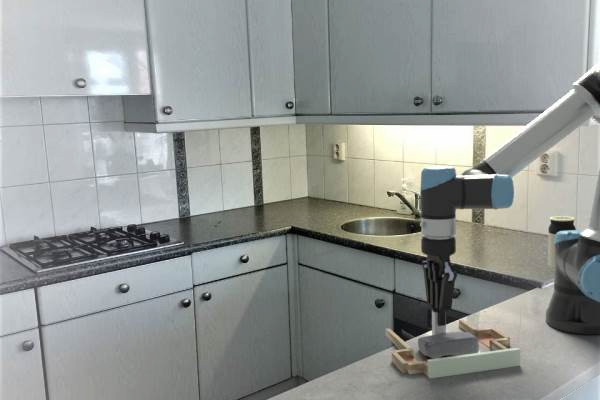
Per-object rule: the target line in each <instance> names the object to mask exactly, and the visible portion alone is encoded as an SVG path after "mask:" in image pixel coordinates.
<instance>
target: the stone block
mask: <svg viewBox="0 0 600 400" xmlns="http://www.w3.org/2000/svg"><path fill="white" fill-rule="evenodd" d="M417 347H418V349H419V352H420V353H421V354H422V355H423V356H425V357H429V358H430V359H437V358H443V357H445V356H446V357H452V356H459V355H466V354H474V353H479V351H480V344H479V341H478V339H477V337H476V336H474V335H472V334H471V333H468V332H466V331H449V332H446V333H441V334H436V335H432V334H431V335H427V336H421V337H419V338H418V339H417Z"/></svg>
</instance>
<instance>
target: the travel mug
mask: <svg viewBox="0 0 600 400" xmlns="http://www.w3.org/2000/svg"><path fill="white" fill-rule="evenodd" d="M549 220H550V224H549V227H548V244H547V245H548V247H547V248H548V249H547V252H548V253H547V266H548V265H549V266H551V267H554V251H555V246H554V243H555V235H556V233H557V232H559V231H567V230H577V228H576V227H575V226H576V225H575V224H574V223H575V220H576V218H575V217H573V216H568V215H554V216H550V217H549Z"/></svg>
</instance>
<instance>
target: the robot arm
mask: <svg viewBox="0 0 600 400" xmlns="http://www.w3.org/2000/svg"><path fill="white" fill-rule="evenodd" d="M593 117H600V61H598V63H596V64H595V65H594V66H592V68H590V69H589V70H588V71H587V72H586V73H585V74H584V75H582V76H581V77H580V78H579V79H577V80H576V81H575V82H574V83H572V84H571V89H570V91H569V92H568V93H567V94H566V95H564V96H563V97H561V99H559V100H558V101H557V102H555V103H554V104H552V105H551V106H550V107H549V108H547V109H546V110H545V111H544V112H543V113H541V114H540V115H539V116H537V117H536V118H534V119H533V120H532V121H531V122H530V123H528V124H527V125H526V126H525V127H523V128H522V129H521V130H520V131H518V132H517V133H515V134H514V135H513V136H512V137H510V138H509V139H508V140H506V141H505V142H504V143H502V144H501V145H500V146H498V148H496V149H495V150H494V151H492V152H490V154H488V155H487V156H486V157H485V158H483V159H482V160H480V162H478V163H477V164H476V165H475V166H473V167H472V168H468V169H466V170H464V171H463V172H462V173H461V174H460V175H459V174H457V171H456V169H455V167H454V166H448V165H447V166H446V165H444V166H443V165H442V166H441V165H437V166H427V167H424V168H422V170H421V173H420V219H421V221H420V222H419V227H421V229H420V230H421V235H422V237H421V238H420V241H421V242H420V243H421V245H420V247H421V249H420V250H421V253H422V254H423V255H425V256H426V260H422V261H421V266H422V270H423V279H424V285H425V286H424V287H425V288H424V289H425V296H426V297H425V298H426V302H427V304H429V307H430V309H431V335H436V334H441V333H447V313H446V312H450V311H452V308H453V307H452V306H453V298H454V291H455V282H456V280H457V277H458V273H457V271H452V269H451V266H452V263H451V258H450V257H451V256H452V255H455V253H456V252H457V250H456V249H457V247H456V245H457V242H456V241H457V238H456V237H455V236H456V234H457V228H456V227H457V220H456V219H457V217H456V212H457V211H456V210H494V211H495V210H499V209H500V210H501V209H502V210H503V209H509V208H511V207H512V205H513V204H514V197H515V188H514V181H513V178H514V177H515V176H516V175H517V174H519V173H520V172H522V170H524V169H525V168H526V167H528V166H530V164H532V163H533V162H535V161H536V160H537V159H538V158H540V157H541V156H543V155H544V154H545V153H547V151H549V150H550V149H552V148H553V147H554V146H555V145H556V144H558V143H560V142H561V141H563V140H564V139H565V138H566V137H568V136H569V135H570V134H571V133H573V132H574V131H576V130H577V129H578V128H579V127H580V126H582V125H583V124H584V123H586V122H587V121H589V120H590V119H591V118H593ZM597 175H598V176H597V182H596V188H595V192H594V197H593V203H592V207H591V211H590V213H591V214H590V218H589V225H588V226H587V227H586V228H585V229H581V230H580V229H579V230H577V229H576V230H567V231H559V232H557V233H556V235H555V243H554V246H555V251H554V272H553V273H554V274H553V275H554V276H553V292H552V294H551V295H552V296H551V298H550V301H549V304H548V307H547V308H546V311H545V322H546V324H547V325H549V326H550V327H551V328H554V329H555V330H559V331H562V332H567V333H572V334H577V335H579V334H580V335H600V169H599V170H598V174H597Z"/></svg>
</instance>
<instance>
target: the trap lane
mask: <svg viewBox="0 0 600 400" xmlns="http://www.w3.org/2000/svg"><path fill="white" fill-rule="evenodd" d="M458 328H460V329H462V330H463V332H468V333H471V334H472V335H474V336H476V337H477V339H478V342H480V343H481V344H483V345H484V346H486V347H487V348H488V349H490V351H483V352H478V353H474V354H466V355H459V356H446V357H445V356H443V357H440V358H437V359H433V358H430V359H427V360H420V361H418V360H417V359H416V358H415V351H414V349H413V348H412V347H411V346H410V345H409V344H408V343H406V341H405V340H403V339H402V338H401V337H400V336H399V335H397V333H395V332H394V331H393V330H392V329H391V328H385V337H386V338H388V339H389V340H390V341H391V342H392V344H394V346H396V348H398V349H395V350H394V351H393V352H391V362H392V364H393V365H395V367H397V369H398V370H399V371H400V372H401V373H402V374H406V373H407V374H409V375H416V374H424V375H426V376H427V377H428V379H436V378H443V377H451V376H452V377H453V376H458V375H464V374H472V373H479V372H485V371H487V372H488V371H493V370H500V369H506V368H507V369H508V368H513V367H520V366H521V349H520V348H519V347H513V348H509V347H510V345H511V343H510V342H511V339H510V338H511V337H510V336H509V335H506V334H505V333H504V332H502V331H501V330H499V329H497V328H491V327H483V328H482V327H481V328H476V326H473V325H472V324H470V323H469V322H467V321H465V320H464V319H458Z"/></svg>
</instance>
